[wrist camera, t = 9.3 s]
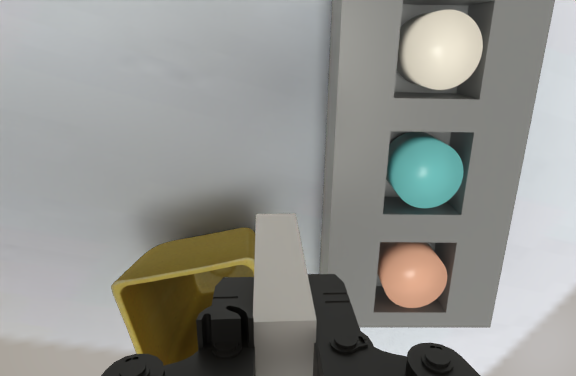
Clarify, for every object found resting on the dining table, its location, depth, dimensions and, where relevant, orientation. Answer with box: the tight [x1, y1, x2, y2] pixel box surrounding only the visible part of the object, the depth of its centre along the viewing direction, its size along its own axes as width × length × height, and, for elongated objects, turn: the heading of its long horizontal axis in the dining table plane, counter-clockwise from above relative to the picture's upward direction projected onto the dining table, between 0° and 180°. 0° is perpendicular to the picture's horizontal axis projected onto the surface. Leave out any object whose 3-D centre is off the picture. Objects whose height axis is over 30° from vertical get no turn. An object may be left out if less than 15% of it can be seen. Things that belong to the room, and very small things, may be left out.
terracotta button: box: [377, 242, 447, 308], centre depth 31 cm, size 4×4×3 cm
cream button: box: [396, 9, 483, 90], centre depth 26 cm, size 4×4×3 cm
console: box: [320, 0, 555, 327], centre depth 30 cm, size 12×23×5 cm, turn 179°
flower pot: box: [111, 228, 255, 366], centre depth 30 cm, size 9×9×9 cm
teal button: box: [386, 132, 463, 208], centre depth 28 cm, size 4×4×3 cm
